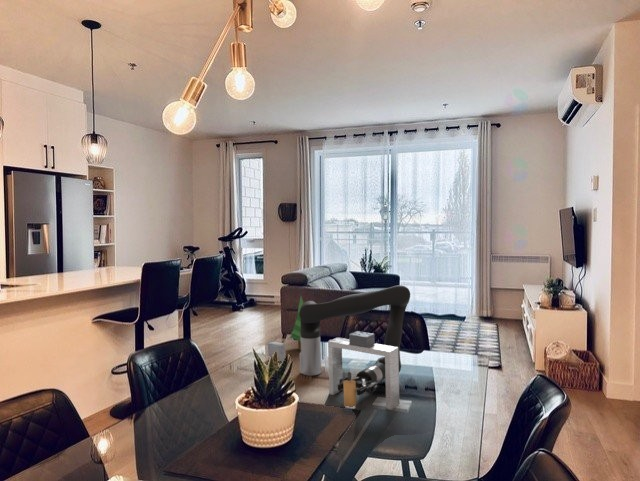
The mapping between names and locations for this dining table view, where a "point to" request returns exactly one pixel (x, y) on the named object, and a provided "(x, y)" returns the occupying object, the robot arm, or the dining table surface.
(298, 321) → the decorative tree
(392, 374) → the white arch
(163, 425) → the dining table surface
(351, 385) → the orange plug
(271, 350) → the medicine box
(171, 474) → the dining table surface
